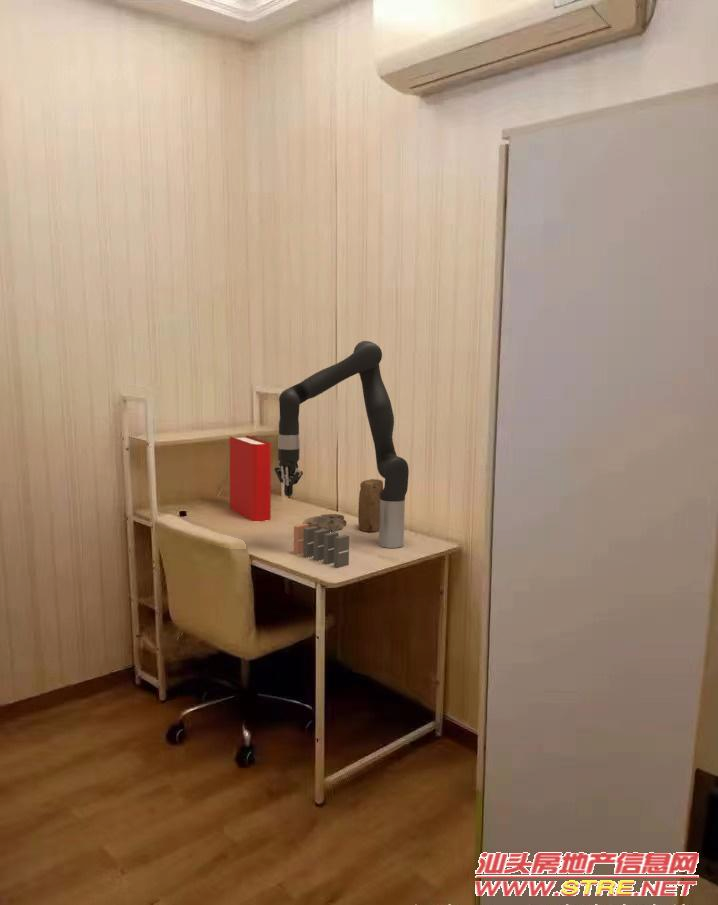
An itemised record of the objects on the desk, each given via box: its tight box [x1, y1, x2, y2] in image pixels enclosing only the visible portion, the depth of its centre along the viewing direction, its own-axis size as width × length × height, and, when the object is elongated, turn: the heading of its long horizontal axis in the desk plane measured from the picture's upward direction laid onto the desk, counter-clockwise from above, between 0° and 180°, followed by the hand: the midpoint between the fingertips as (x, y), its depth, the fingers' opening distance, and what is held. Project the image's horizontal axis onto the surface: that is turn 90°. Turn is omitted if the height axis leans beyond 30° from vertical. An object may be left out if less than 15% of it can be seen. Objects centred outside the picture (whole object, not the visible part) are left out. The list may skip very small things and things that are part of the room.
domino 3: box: [312, 529, 328, 562], centre depth 250 cm, size 2×5×10 cm, turn 137°
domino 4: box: [322, 531, 340, 565], centre depth 246 cm, size 2×5×10 cm, turn 136°
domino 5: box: [333, 534, 350, 568], centre depth 243 cm, size 2×5×10 cm, turn 137°
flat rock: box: [301, 513, 347, 533], centre depth 293 cm, size 14×5×20 cm
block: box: [357, 478, 384, 533], centre depth 290 cm, size 11×8×20 cm
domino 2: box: [303, 526, 318, 559], centre depth 253 cm, size 2×5×10 cm, turn 136°
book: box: [229, 435, 272, 522], centre depth 310 cm, size 27×8×32 cm, turn 31°
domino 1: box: [293, 523, 308, 556], centre depth 257 cm, size 2×5×10 cm, turn 137°
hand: (288, 495), depth 259 cm, fingers closed
